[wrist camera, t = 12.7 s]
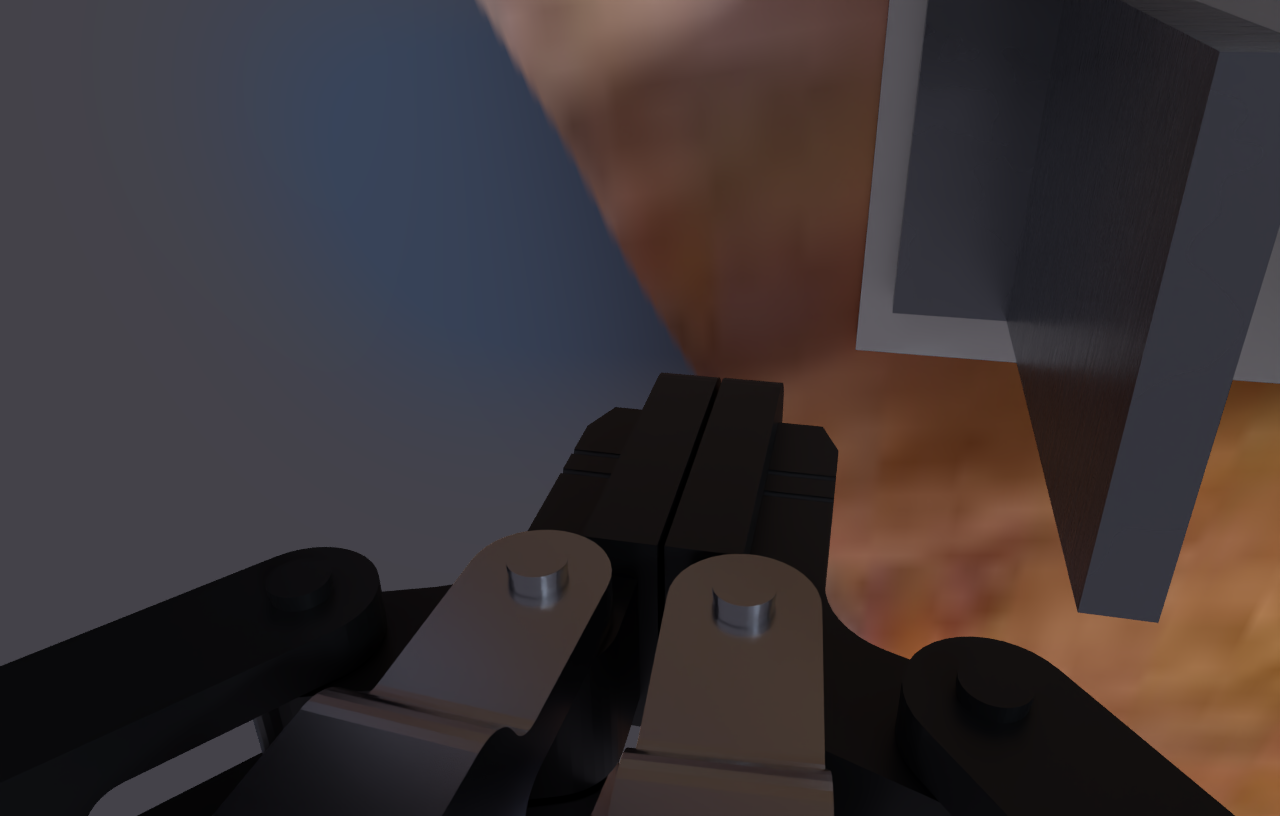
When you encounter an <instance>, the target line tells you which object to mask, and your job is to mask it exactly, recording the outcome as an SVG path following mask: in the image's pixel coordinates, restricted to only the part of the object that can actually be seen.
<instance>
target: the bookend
mask: <svg viewBox="0 0 1280 816" xmlns="http://www.w3.org/2000/svg"><path fill="white" fill-rule="evenodd" d="M1279 227H1280V33H1279V32H1276V31H1274V30H1271V29H1269V28H1266V27H1263V26H1261V25H1258V24H1256V23H1253V22H1250V21H1248V20H1245V19H1243V18H1240V17H1237V16H1235V15H1232V14H1230V13H1227V12H1224V11H1222V10H1219V9H1217V8H1214V7H1211V6H1209V5H1206V4H1204V3H1201V2H1198V1H1196V0H927V7H926V16H925V24H924V33H923V42H922V51H921V59H920V68H919V77H918V86H917V94H916V103H915V112H914V121H913V129H912V138H911V147H910V156H909V164H908V173H907V182H906V190H905V199H904V208H903V217H902V225H901V234H900V243H899V252H898V260H897V269H896V278H895V287H894V295H893V313H899V314H913V315H927V316H941V317H955V318H969V319H983V320H997V321H1007V325H1008V329H1009V333H1010V338H1011V342H1012V346H1013V350H1014V354H1015V358H1016V362H1017V366H1018V370H1019V374H1020V378H1021V382H1022V387H1023V391H1024V395H1025V399H1026V403H1027V407H1028V411H1029V415H1030V419H1031V423H1032V427H1033V432H1034V436H1035V440H1036V444H1037V448H1038V452H1039V456H1040V460H1041V464H1042V468H1043V472H1044V476H1045V481H1046V485H1047V489H1048V493H1049V497H1050V501H1051V505H1052V509H1053V513H1054V517H1055V521H1056V526H1057V530H1058V534H1059V538H1060V542H1061V546H1062V550H1063V554H1064V558H1065V562H1066V566H1067V570H1068V575H1069V579H1070V583H1071V587H1072V591H1073V595H1074V599H1075V603H1076V607H1077V611H1078V612H1080V613H1087V614H1095V615H1103V616H1110V617H1118V618H1126V619H1133V620H1141V621H1149V622H1156V623H1158V622H1159V619H1160V615H1161V612H1162V609H1163V606H1164V602H1165V599H1166V596H1167V592H1168V589H1169V586H1170V583H1171V579H1172V576H1173V573H1174V570H1175V566H1176V563H1177V560H1178V557H1179V553H1180V550H1181V547H1182V544H1183V540H1184V537H1185V534H1186V530H1187V527H1188V524H1189V521H1190V517H1191V514H1192V511H1193V508H1194V504H1195V501H1196V498H1197V495H1198V491H1199V488H1200V485H1201V482H1202V478H1203V475H1204V472H1205V468H1206V465H1207V462H1208V459H1209V455H1210V452H1211V449H1212V446H1213V442H1214V439H1215V436H1216V433H1217V429H1218V426H1219V423H1220V420H1221V416H1222V413H1223V410H1224V406H1225V403H1226V400H1227V397H1228V393H1229V390H1230V387H1231V384H1232V380H1233V377H1234V374H1235V371H1236V367H1237V364H1238V361H1239V357H1240V354H1241V351H1242V348H1243V344H1244V341H1245V338H1246V335H1247V331H1248V328H1249V325H1250V322H1251V318H1252V315H1253V312H1254V309H1255V305H1256V302H1257V299H1258V295H1259V292H1260V289H1261V286H1262V282H1263V279H1264V276H1265V273H1266V269H1267V266H1268V263H1269V260H1270V256H1271V253H1272V250H1273V247H1274V243H1275V240H1276V237H1277V233H1278V230H1279Z"/></svg>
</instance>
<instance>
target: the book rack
mask: <svg viewBox="0 0 1280 816" xmlns="http://www.w3.org/2000/svg"><path fill="white" fill-rule="evenodd" d="M1196 1H1198V2H1201V3H1204V4H1206V5H1209V6H1211V7H1214V8H1217V9H1219V10H1222V11H1224V12H1227V13H1230V14H1232V15H1235V16H1237V17H1240V18H1243V19H1245V20H1248V21H1250V22H1253V23H1256V24H1258V25H1261V26H1263V27H1266V28H1269V29H1271V30H1274V31H1276V32H1279V33H1280V0H1196ZM926 7H927V0H889V11H888V21H887V31H886V42H885V52H884V62H883V72H882V83H881V93H880V103H879V114H878V124H877V134H876V144H875V155H874V165H873V175H872V186H871V196H870V206H869V216H868V227H867V237H866V247H865V258H864V268H863V278H862V288H861V299H860V309H859V319H858V330H857V340H856V350H864V351H877V352H889V353H902V354H914V355H927V356H939V357H952V358H964V359H977V360H989V361H1002V362H1014V363H1017V362H1016V358H1015V354H1014V350H1013V346H1012V342H1011V338H1010V333H1009V329H1008V325H1007V321H997V320H983V319H969V318H955V317H941V316H927V315H913V314H899V313H893V295H894V287H895V278H896V269H897V260H898V252H899V243H900V234H901V225H902V217H903V208H904V199H905V190H906V182H907V173H908V164H909V156H910V147H911V138H912V129H913V121H914V112H915V103H916V94H917V86H918V77H919V68H920V59H921V51H922V42H923V33H924V24H925V16H926ZM1233 380H1239V381H1252V382H1264V383H1277V384H1280V227H1279V230H1278V233H1277V237H1276V240H1275V243H1274V247H1273V250H1272V253H1271V256H1270V260H1269V263H1268V266H1267V269H1266V273H1265V276H1264V279H1263V282H1262V286H1261V289H1260V292H1259V295H1258V299H1257V302H1256V305H1255V309H1254V312H1253V315H1252V318H1251V322H1250V325H1249V328H1248V331H1247V335H1246V338H1245V341H1244V344H1243V348H1242V351H1241V354H1240V357H1239V361H1238V364H1237V367H1236V371H1235V374H1234V377H1233Z"/></svg>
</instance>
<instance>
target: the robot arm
mask: <svg viewBox="0 0 1280 816" xmlns="http://www.w3.org/2000/svg"><path fill="white" fill-rule="evenodd" d="M783 399H784V385H783V383H776V382H765V381H753V380H742V379H730V378H724V379H723V380H722V383H721V380H720V378H717V377H705V376H694V375H682V374H670V373H661V374H660V375H659V376H658V378H657V381H656V383H655V385H654V387H653V389H652V391H651V393H650V395H649V397H648V399H647V401H646V403H645V405H644V407H643V409H642V410H638V409H628V408H618V407H615V408H614V409H612V410H611V411H609V412H608V413H606V414H605V415H603V416H602V417H600V418H599V419H597V420H596V421H594V422H593V423H591V424H590V425H588V426H587V428H586V430H585V431H584V433H583V435H582V437H581V438H580V440H579V442H578V444H577V446H576V447H575V450H574V454H571V456H570V458H569V459H568V461H567V463H566V465H565V466H564V469H563V473H561V474H560V475H559V477H558V479H557V480H556V482H555V484H554V486H553V488H552V489H551V491H550V493H549V495H548V496H547V498H546V500H545V502H544V503H543V505H542V507H541V509H540V510H539V512H538V514H537V516H536V517H535V519H534V521H533V523H532V524H531V526H530V528H529V530H528V531H526V532H521V533H517V534H513V535H510V536H507V537H504V538H502V539H500V540H497V541H495V542H493V543H492V544H490V545H488V546H486V547H485V548H484V549H483V550H482V551H480V552H479V553H478V554H477V555H476V556H475V557H474V558H473V559H472V560H471V562H470V563H469V564H468V565H467V567H466V568H465V569H464V571H463V572H462V573H461V575H460V576H459V577H458V579H457V580H456V581H455V583H454V584H452V585H447V586H439V587H430V588H419V589H408V590H396V591H385V592H382V590H381V585H380V580H379V575H378V572H377V569H376V567H375V566H374V564H373V563H372V562H371V561H370V560H369V559H367V558H366V557H365V556H363V555H361V554H359V553H357V552H354V551H351V550H347V549H342V548H334V547H316V548H308V549H301V550H296V551H292V552H289V553H285V554H282V555H280V556H276V557H274V558H271V559H269V560H266V561H264V562H261V563H259V564H256V565H254V566H251V567H249V568H246V569H244V570H241V571H238V572H236V573H233V574H231V575H228V576H226V577H223V578H221V579H218V580H216V581H213V582H211V583H209V584H206V585H203V586H201V587H198V588H196V589H193V590H191V591H189V592H186V593H184V594H181V595H178V596H176V597H173V598H171V599H169V600H166V601H163V602H161V603H158V604H156V605H153V606H151V607H148V608H146V609H143V610H141V611H138V612H136V613H133V614H131V615H128V616H126V617H123V618H121V619H118V620H116V621H113V622H111V623H108V624H106V625H103V626H100V627H98V628H95V629H93V630H90V631H88V632H85V633H83V634H80V635H78V636H76V637H73V638H70V639H68V640H65V641H63V642H60V643H58V644H55V645H53V646H50V647H48V648H45V649H43V650H40V651H38V652H35V653H33V654H30V655H28V656H25V657H23V658H20V659H18V660H15V661H13V662H10V663H8V664H5V665H3V666H0V816H88V815H89V813H90V811H91V810H92V808H93V807H94V805H95V804H96V803H97V802H98V801H99V800H100V799H101V798H102V797H103V796H104V795H105V794H106V793H107V792H109V791H110V790H112V789H113V788H114V787H116V786H118V785H120V784H121V783H123V782H125V781H127V780H129V779H131V778H133V777H135V776H137V775H140V774H141V773H143V772H146V771H148V770H150V769H152V768H154V767H156V766H158V765H160V764H162V763H164V762H166V761H168V760H170V759H172V758H175V757H177V756H179V755H181V754H183V753H185V752H187V751H189V750H191V749H193V748H195V747H197V746H199V745H201V744H203V743H205V742H207V741H209V740H211V739H214V738H216V737H218V736H220V735H222V734H224V733H226V732H228V731H230V730H232V729H234V728H236V727H238V726H240V725H242V724H244V723H247V722H249V721H251V720H253V722H254V725H255V729H256V732H257V736H258V739H259V743H260V746H261V750H262V753H260V754H258V755H256V756H254V757H252V758H250V759H248V760H246V761H244V762H242V763H241V764H238V765H236V766H234V767H232V768H230V769H228V770H227V771H224V772H223V773H221V774H219V775H217V776H215V777H213V778H211V779H209V780H207V781H205V782H203V783H201V784H199V785H197V786H195V787H193V788H191V789H189V790H187V791H185V792H183V793H181V794H179V795H177V796H175V797H173V798H171V799H169V800H167V801H165V802H163V803H161V804H159V805H158V806H155V807H154V808H151V809H149V810H148V811H146V812H144V813H142V814H140V815H138V816H1235V815H1233V814H1232V813H1231V812H1230V811H1229V810H1227V809H1226V808H1225V807H1224V806H1223V805H1221V804H1220V803H1219V802H1218V801H1217V800H1215V799H1214V798H1213V797H1212V796H1211V795H1209V794H1208V793H1207V792H1206V791H1205V790H1203V789H1202V788H1201V787H1200V786H1199V785H1197V784H1196V783H1195V782H1194V781H1192V780H1191V779H1190V778H1189V777H1188V776H1186V775H1185V774H1184V773H1183V772H1182V771H1180V770H1179V769H1178V768H1177V767H1176V766H1174V765H1173V764H1172V763H1171V762H1170V761H1168V760H1167V759H1166V758H1165V757H1164V756H1162V755H1161V754H1160V753H1159V752H1158V751H1156V750H1155V749H1154V748H1153V747H1152V746H1150V745H1149V744H1148V743H1147V742H1146V741H1144V740H1143V739H1142V738H1141V737H1140V736H1138V735H1137V734H1136V733H1135V732H1134V731H1132V730H1131V729H1130V728H1129V727H1128V726H1126V725H1125V724H1124V723H1123V722H1122V721H1120V720H1119V719H1118V718H1117V717H1116V716H1114V715H1113V714H1112V713H1111V712H1109V711H1108V710H1107V709H1106V708H1105V707H1103V706H1102V705H1101V704H1100V703H1099V702H1097V701H1096V700H1095V699H1094V698H1093V697H1091V696H1090V695H1089V694H1088V693H1087V692H1085V691H1084V690H1083V689H1082V688H1081V687H1079V686H1078V685H1077V684H1076V683H1075V682H1073V681H1072V680H1071V679H1070V678H1069V677H1067V676H1066V675H1065V674H1064V673H1063V672H1061V671H1060V670H1059V669H1058V668H1056V667H1055V666H1054V665H1052V664H1051V663H1049V662H1048V661H1047V660H1045V659H1043V658H1042V657H1040V656H1038V655H1036V654H1035V653H1033V652H1031V651H1028V650H1026V649H1024V648H1021V647H1019V646H1016V645H1013V644H1010V643H1007V642H1004V641H999V640H995V639H990V638H982V637H955V638H948V639H944V640H940V641H937V642H934V643H931V644H929V645H927V646H925V647H923V648H922V649H921V650H919V651H918V652H917V653H915V654H914V655H913V657H912V658H911V659H910V660H909V659H907V658H904V657H902V656H899V655H896V654H894V653H891V652H889V651H886V650H884V649H881V648H879V647H877V646H875V645H872V644H871V643H869V642H867V641H865V640H864V639H862V638H860V637H859V636H857V635H856V634H855V633H853V632H852V631H851V630H849V629H848V628H847V627H846V626H845V625H844V624H843V623H842V622H841V621H840V620H839V619H838V618H837V616H836V615H835V614H834V612H833V611H832V609H831V607H830V605H829V603H828V600H827V597H826V593H825V587H826V577H827V567H828V557H829V546H830V535H831V525H832V514H833V503H834V493H835V482H836V471H837V461H838V449H837V448H836V446H835V445H834V443H833V442H832V440H831V439H830V437H829V436H828V434H827V433H826V431H825V430H824V428H823V427H819V426H809V425H798V424H788V423H782V417H783ZM631 725H635V726H641V728H640V733H639V738H638V743H637V746H636V748H626V749H625V751H624V752H623V749H624V746H625V743H626V740H627V737H628V734H629V730H630V727H631ZM622 753H623V755H622ZM621 755H622V757H621ZM620 757H621V760H620V763H619V759H620Z"/></svg>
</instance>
